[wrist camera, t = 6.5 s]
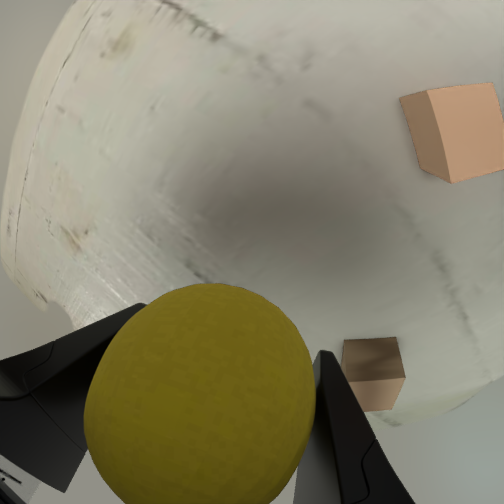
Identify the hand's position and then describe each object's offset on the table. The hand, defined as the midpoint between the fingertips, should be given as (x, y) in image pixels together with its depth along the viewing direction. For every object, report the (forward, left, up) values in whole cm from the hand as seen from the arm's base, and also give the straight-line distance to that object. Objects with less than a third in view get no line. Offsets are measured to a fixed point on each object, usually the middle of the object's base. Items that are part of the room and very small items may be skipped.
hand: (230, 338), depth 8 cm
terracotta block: (-10, -9, -13) cm, 18 cm away
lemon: (0, 0, -2) cm, 2 cm away
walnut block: (-11, +12, -13) cm, 20 cm away
